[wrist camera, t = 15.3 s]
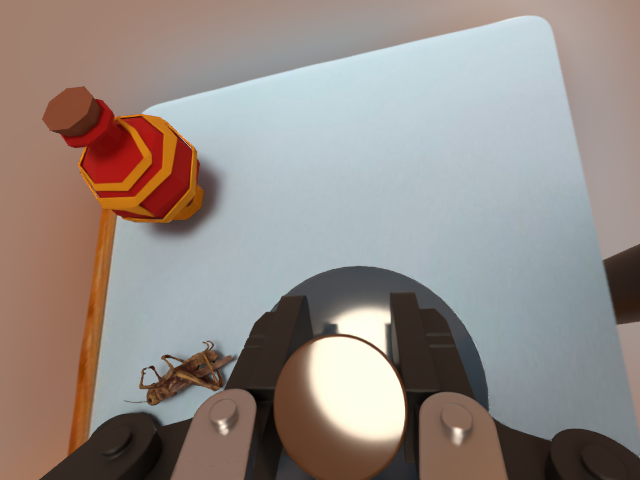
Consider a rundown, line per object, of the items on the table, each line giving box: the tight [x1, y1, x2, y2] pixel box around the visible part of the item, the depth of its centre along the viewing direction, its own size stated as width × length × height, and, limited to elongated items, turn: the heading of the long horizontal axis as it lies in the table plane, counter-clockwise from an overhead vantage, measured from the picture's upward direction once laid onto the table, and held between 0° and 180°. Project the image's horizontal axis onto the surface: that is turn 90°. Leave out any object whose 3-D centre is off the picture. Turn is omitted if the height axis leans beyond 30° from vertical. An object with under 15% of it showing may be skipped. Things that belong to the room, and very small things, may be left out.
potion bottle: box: [42, 86, 204, 223], centre depth 31 cm, size 10×10×15 cm
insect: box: [126, 341, 232, 405], centre depth 29 cm, size 4×8×5 cm
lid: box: [270, 266, 489, 480], centre depth 10 cm, size 9×9×8 cm
